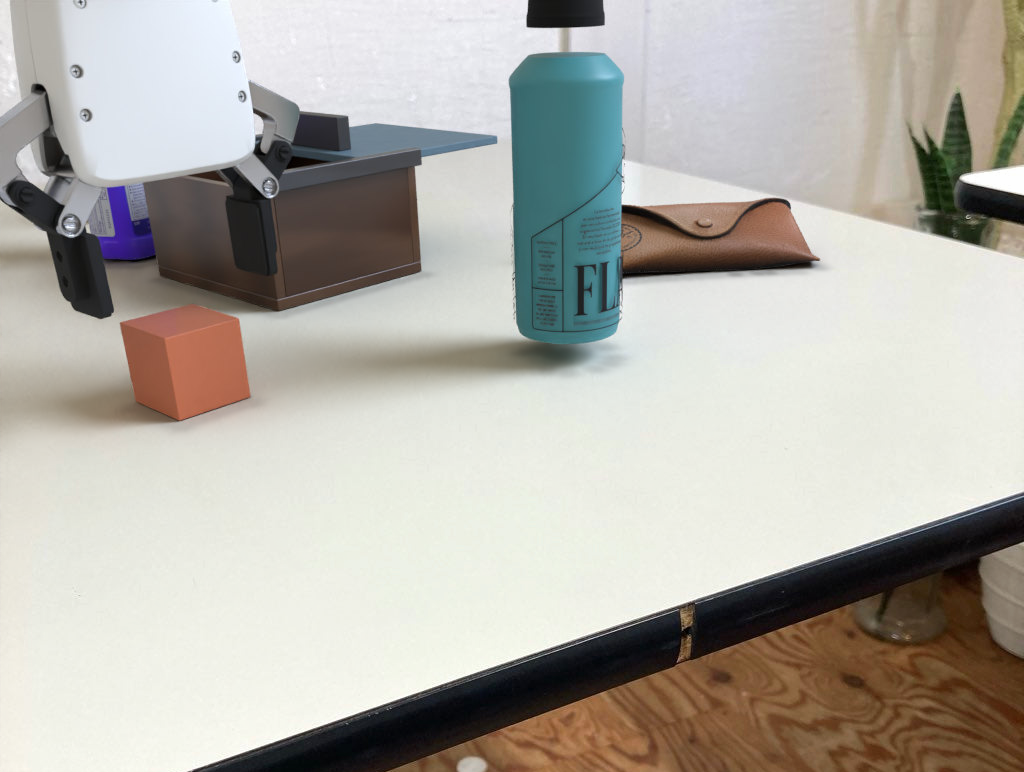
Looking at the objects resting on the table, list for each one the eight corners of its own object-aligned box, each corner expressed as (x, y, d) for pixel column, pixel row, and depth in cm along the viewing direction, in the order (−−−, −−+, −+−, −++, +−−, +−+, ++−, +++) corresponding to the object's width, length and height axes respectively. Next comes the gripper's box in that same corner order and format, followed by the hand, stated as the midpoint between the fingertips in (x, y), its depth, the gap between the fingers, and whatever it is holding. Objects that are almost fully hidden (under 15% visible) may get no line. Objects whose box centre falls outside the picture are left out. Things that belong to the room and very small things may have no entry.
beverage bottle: (575, 378, 59) (576, -19, 50) (490, 354, 63) (476, -17, 54) (643, 348, 63) (656, -22, 54) (560, 328, 67) (558, -20, 58)
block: (135, 401, 57) (118, 322, 55) (205, 379, 60) (192, 303, 58) (179, 421, 55) (164, 338, 53) (251, 397, 58) (239, 317, 55)
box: (153, 274, 82) (131, 152, 78) (293, 242, 91) (280, 131, 87) (285, 313, 72) (267, 175, 67) (429, 272, 80) (421, 148, 76)
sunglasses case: (597, 275, 77) (588, 186, 77) (579, 300, 83) (571, 219, 84) (829, 260, 79) (820, 174, 79) (794, 287, 86) (785, 207, 86)
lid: (248, 149, 84) (242, 110, 82) (376, 130, 92) (373, 94, 91) (368, 167, 75) (364, 123, 73) (497, 143, 83) (496, 103, 82)
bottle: (129, 243, 92) (87, 26, 84) (188, 244, 91) (152, 25, 83) (83, 263, 86) (33, 31, 78) (146, 265, 85) (102, 30, 77)
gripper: (226, -78, 55) (273, 250, 62) (-127, -81, 43) (-17, 319, 51) (315, -88, 50) (353, 267, 58) (-55, -95, 39) (54, 347, 47)
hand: (179, 291), depth 54 cm, fingers open, 9 cm apart
